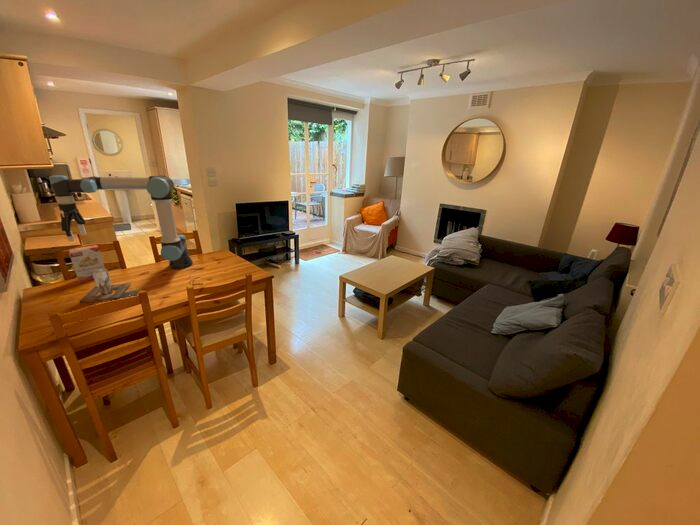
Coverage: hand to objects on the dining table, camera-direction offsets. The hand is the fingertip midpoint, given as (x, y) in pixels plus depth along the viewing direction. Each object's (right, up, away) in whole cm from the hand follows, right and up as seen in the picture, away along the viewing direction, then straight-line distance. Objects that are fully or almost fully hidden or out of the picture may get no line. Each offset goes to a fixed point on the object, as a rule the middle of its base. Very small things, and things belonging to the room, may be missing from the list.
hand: (78, 237), depth 174 cm
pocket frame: (+23, -34, -6) cm, 41 cm away
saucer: (+38, -35, -7) cm, 52 cm away
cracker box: (-2, -26, +12) cm, 28 cm away
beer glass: (+23, -34, -6) cm, 41 cm away
